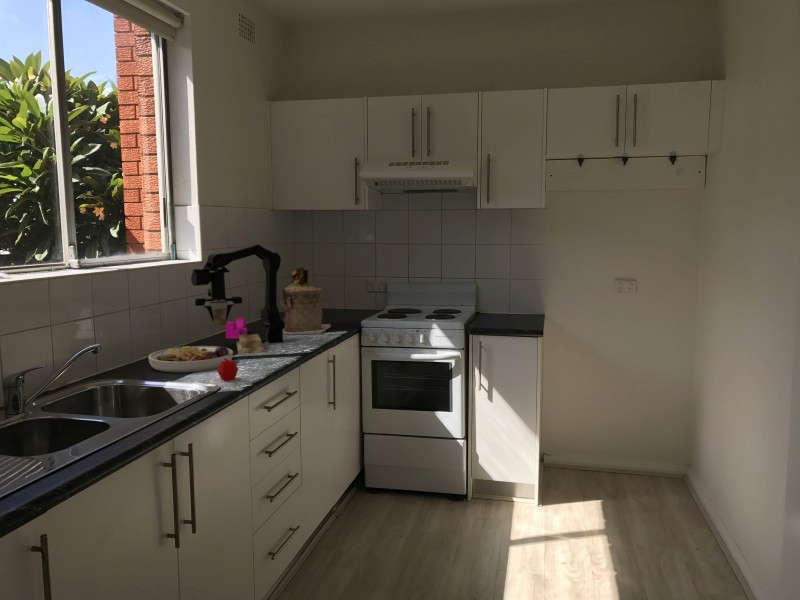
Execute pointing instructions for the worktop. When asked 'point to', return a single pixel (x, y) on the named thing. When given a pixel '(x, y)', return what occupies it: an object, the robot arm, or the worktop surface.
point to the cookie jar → (302, 306)
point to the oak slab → (250, 341)
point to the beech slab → (249, 349)
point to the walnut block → (219, 316)
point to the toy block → (236, 328)
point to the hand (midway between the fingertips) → (219, 321)
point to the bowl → (189, 358)
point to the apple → (227, 370)
